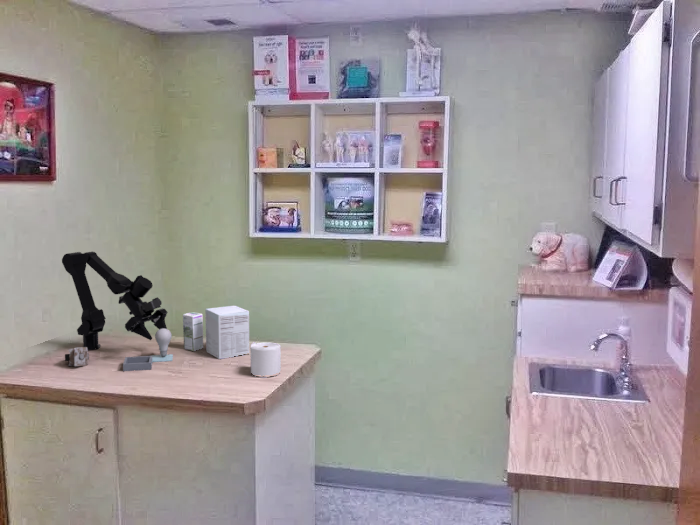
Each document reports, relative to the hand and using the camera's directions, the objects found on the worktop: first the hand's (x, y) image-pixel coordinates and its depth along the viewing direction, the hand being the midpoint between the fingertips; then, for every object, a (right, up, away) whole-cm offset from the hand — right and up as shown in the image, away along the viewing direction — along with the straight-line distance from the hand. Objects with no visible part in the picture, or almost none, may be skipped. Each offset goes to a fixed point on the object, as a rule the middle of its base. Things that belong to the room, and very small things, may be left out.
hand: (159, 336), depth 257 cm
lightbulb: (+1, -8, +2) cm, 8 cm away
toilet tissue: (+42, -11, -16) cm, 46 cm away
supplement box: (+24, -8, +10) cm, 27 cm away
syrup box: (+9, -7, +15) cm, 19 cm away
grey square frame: (-5, -10, -10) cm, 15 cm away
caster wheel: (-29, -10, -7) cm, 31 cm away
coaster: (+1, -8, +1) cm, 9 cm away
